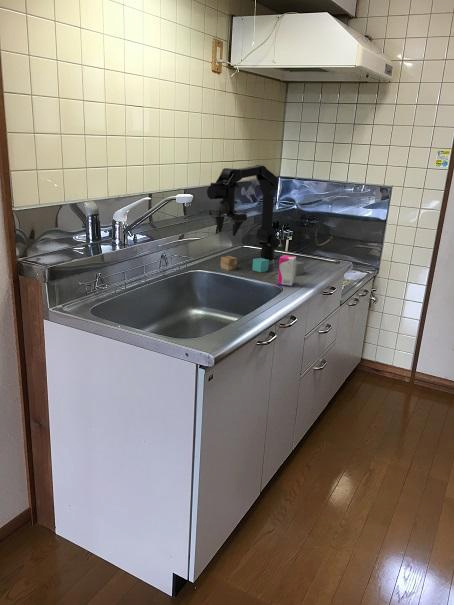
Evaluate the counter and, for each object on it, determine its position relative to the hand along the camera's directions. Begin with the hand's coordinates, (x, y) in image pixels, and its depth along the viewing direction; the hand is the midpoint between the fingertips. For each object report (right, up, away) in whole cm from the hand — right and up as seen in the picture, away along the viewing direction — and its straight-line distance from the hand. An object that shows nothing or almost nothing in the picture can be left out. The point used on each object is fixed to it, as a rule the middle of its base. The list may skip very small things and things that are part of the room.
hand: (226, 233), depth 220 cm
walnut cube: (+1, -15, +1) cm, 15 cm away
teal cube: (+15, -16, +1) cm, 22 cm away
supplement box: (+24, -23, -18) cm, 38 cm away
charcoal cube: (+30, -18, -1) cm, 35 cm away
